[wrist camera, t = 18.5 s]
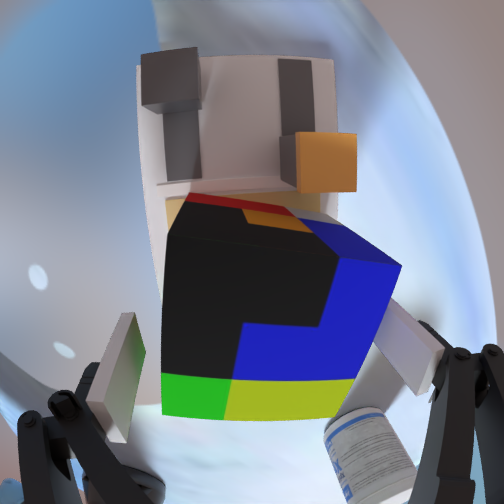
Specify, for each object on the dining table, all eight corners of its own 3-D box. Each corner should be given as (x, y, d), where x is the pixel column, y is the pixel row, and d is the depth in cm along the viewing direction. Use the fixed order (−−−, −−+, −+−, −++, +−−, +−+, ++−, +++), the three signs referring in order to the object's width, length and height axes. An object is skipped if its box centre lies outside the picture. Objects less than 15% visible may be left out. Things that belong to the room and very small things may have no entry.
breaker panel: (170, 320, 25) (167, 335, 23) (142, 72, 18) (135, 65, 16) (323, 305, 27) (331, 317, 25) (324, 65, 19) (334, 59, 17)
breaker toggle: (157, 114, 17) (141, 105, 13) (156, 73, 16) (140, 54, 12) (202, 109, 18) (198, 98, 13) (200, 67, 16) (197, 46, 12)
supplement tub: (309, 433, 34) (339, 521, 21) (366, 395, 33) (414, 482, 19) (341, 448, 38) (371, 520, 24) (391, 415, 36) (432, 486, 22)
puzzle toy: (326, 213, 21) (402, 265, 12) (295, 328, 25) (334, 416, 15) (189, 192, 20) (167, 234, 10) (176, 317, 23) (162, 414, 13)
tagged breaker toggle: (279, 181, 20) (301, 193, 15) (277, 135, 19) (299, 131, 14) (323, 180, 20) (356, 192, 15) (322, 135, 19) (356, 133, 14)
